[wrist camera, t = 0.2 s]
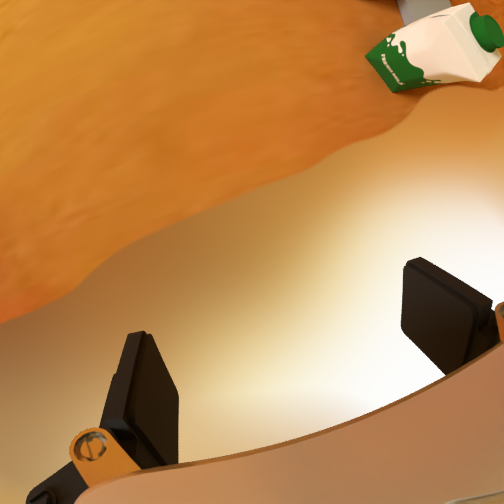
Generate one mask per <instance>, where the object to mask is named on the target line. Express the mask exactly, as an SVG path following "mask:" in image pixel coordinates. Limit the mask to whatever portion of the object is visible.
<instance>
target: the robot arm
mask: <svg viewBox="0 0 504 504" xmlns="http://www.w3.org/2000/svg"><path fill="white" fill-rule="evenodd" d="M492 303H493V300H491V299H490V298H488V297H487V296H485V295H483V294H482V293H480V292H479V291H477V290H475V289H474V288H472V287H471V286H469V285H468V284H466V283H464V282H463V281H461V280H459V279H458V278H456V277H454V276H453V275H451V274H449V273H448V272H446V271H444V270H443V269H441V268H439V267H438V266H436V265H434V264H432V263H431V262H429V261H427V260H425V259H424V258H422V257H419V258H415V259H412V260H409V261H407V263H406V266H404V269H403V294H402V314H401V329H402V331H403V332H404V334H405V335H406V336H407V337H408V338H409V339H410V340H412V342H413V343H414V344H415V345H416V346H417V347H418V348H419V349H420V350H421V351H422V352H423V353H424V354H425V355H426V356H427V357H428V358H429V359H430V360H431V361H432V362H433V363H434V364H435V365H436V366H437V367H438V368H439V369H440V370H441V371H442V372H443V373H444V374H445V375H446V376H444V377H443V378H441V379H439V380H437V381H435V382H433V383H431V384H429V385H428V386H426V387H424V388H422V389H420V390H418V391H416V392H414V393H412V394H410V395H408V396H405V397H403V398H401V399H399V400H397V401H395V402H393V403H390V404H388V405H386V406H384V407H381V408H379V409H377V410H374V411H372V412H369V413H367V414H365V415H362V416H360V417H357V418H355V419H352V420H350V421H347V422H344V423H341V424H338V425H336V426H333V427H330V428H327V429H324V430H321V431H318V432H315V433H312V434H309V435H306V436H302V437H299V438H296V439H292V440H289V441H285V442H282V443H278V444H274V445H271V446H266V447H262V448H258V449H254V450H249V451H245V452H240V453H236V454H231V455H226V456H222V457H217V458H211V459H205V460H199V461H192V462H186V463H180V464H178V415H179V411H178V410H179V396H178V391H177V389H176V387H175V385H174V383H173V380H172V378H171V376H170V374H169V372H168V370H167V368H166V366H165V363H164V361H163V359H162V357H161V355H160V352H159V350H158V348H157V345H156V343H155V341H154V339H153V336H152V335H151V334H146V332H145V331H139V332H135V333H130V334H128V336H127V339H126V342H125V345H124V349H123V352H122V355H121V358H120V363H119V365H118V369H117V372H116V373H115V374H114V376H113V378H112V381H111V385H110V389H109V392H108V395H107V399H106V403H105V406H104V410H103V414H102V418H101V422H100V426H99V428H90V429H86V430H84V431H82V432H80V433H79V434H78V435H77V436H76V437H75V438H74V439H73V441H72V442H71V445H70V447H69V454H70V457H71V459H72V461H71V462H69V463H68V464H67V465H65V466H64V467H63V468H61V469H60V470H58V471H57V472H56V473H54V474H53V475H52V476H50V477H49V478H47V479H46V480H45V481H43V482H42V483H40V484H39V485H37V486H36V487H35V488H33V489H32V490H31V491H30V493H29V495H28V496H27V499H26V504H504V302H502V303H499V304H498V305H497V306H496V308H495V311H493V310H492V309H491V307H492Z"/></svg>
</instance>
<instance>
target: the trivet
mask: <svg viewBox="0 0 504 504" xmlns="http://www.w3.org/2000/svg"><path fill="white" fill-rule="evenodd" d="M396 1H397V4H398V7H399V10H400V13H401V16H402V19H403V22H404V25H405V26H406V25H408V24H410V23H412V22H415V21H417V20H419V19H422V18H424V17H427V16H429V15H431V14H434V13H437V12H440V11H442V10H445V9H448V8H450V7H452V5H451V3H450V0H396Z"/></svg>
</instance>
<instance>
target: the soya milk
mask: <svg viewBox="0 0 504 504" xmlns="http://www.w3.org/2000/svg"><path fill="white" fill-rule="evenodd" d="M503 46H504V36H503V33H502V30H501V28H500V26H499V25H498V23H497V22H496V21H495V20H494V19H493V18H492V17H491V16H489V15H484V16H480V17H479V15H478V14H477V12H476V11H475V10H474V9H473V7H472V6H471V4H470V3H466V4H462V5H458V6H454V7H450V8H448V9H445V10H442V11H440V12H437V13H434V14H431V15H429V16H427V17H424V18H422V19H419V20H417V21H415V22H412V23H410V24H408V25H406V26H404V27H402V28H400V29H398V30H396V31H394V32H393V33H391V34H390V35H389V36H387V37H386V38H385V39H384V40H383V41H381V42H380V43H379V44H378V45H377V46H376V47H374V48H373V49H372V50H371V51H370V52H369V53H368V54H367V55H365V57H366V58H367V60H368V61H369V62H370V63H371V65H372V66H373V67H374V68H375V70H376V71H377V72H378V74H379V75H380V76H381V78H382V79H383V80H384V82H385V83H386V84H387V86H388V87H389V88H390V90H391V91H392V93H393V92H398V91H403V90H408V89H414V88H419V87H425V86H432V85H438V84H445V83H452V82H459V81H472V82H481V81H482V79H483V78H484V77H485V76H486V75H487V74H489V73H490V72H491V71H492V69H493V67H494V66H495V65H496V63H497V62H498V61H499V60H500V58H501V57H502V56H501V54H500V52H499V50H498V48H501V47H503Z"/></svg>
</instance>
